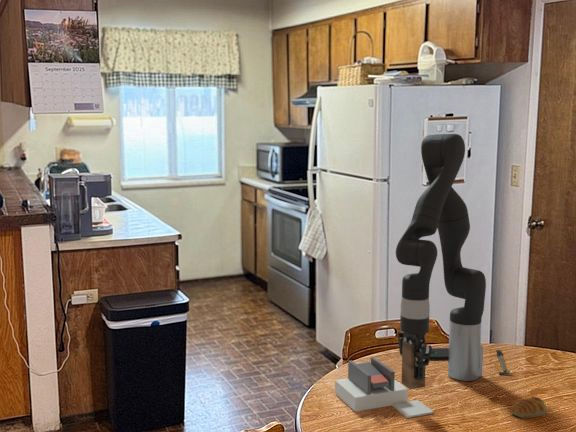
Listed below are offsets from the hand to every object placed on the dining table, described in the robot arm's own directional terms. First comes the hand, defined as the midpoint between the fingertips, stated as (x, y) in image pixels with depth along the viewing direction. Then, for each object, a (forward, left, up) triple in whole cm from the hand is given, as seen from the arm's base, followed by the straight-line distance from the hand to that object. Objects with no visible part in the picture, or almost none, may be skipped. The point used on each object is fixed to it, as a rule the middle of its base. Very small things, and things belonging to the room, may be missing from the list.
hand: (413, 375), depth 185 cm
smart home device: (-28, -34, -11) cm, 45 cm away
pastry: (-28, +13, -10) cm, 33 cm away
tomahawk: (-46, -19, -10) cm, 50 cm away
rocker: (+7, -11, -3) cm, 13 cm away
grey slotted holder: (+7, -11, -10) cm, 16 cm away
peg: (0, 0, -3) cm, 3 cm away
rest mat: (0, 0, -10) cm, 10 cm away
